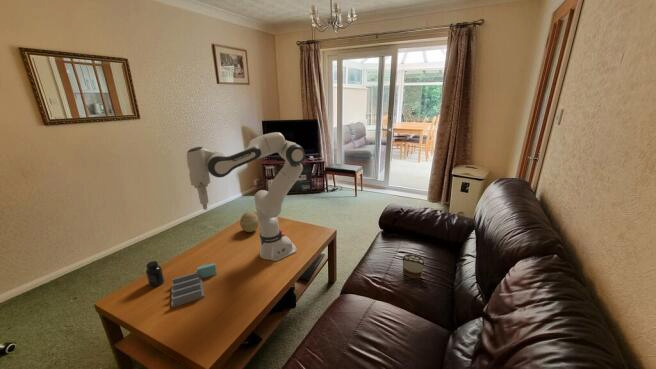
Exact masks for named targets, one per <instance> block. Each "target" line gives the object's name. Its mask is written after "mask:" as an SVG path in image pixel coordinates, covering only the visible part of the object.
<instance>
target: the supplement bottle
mask: <svg viewBox="0 0 656 369" xmlns="http://www.w3.org/2000/svg"><path fill="white" fill-rule="evenodd" d="M145 275H146V278H147V281H148V285H149V287H152V288H156V287H159V286H161V285H163V283H164V282H165V277H164V273H163V270H162V266H161V265H159V263H158V261H156V260H153V261H149V262H148V263H147V264H146V270H145Z"/></svg>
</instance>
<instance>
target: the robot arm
mask: <svg viewBox="0 0 656 369" xmlns="http://www.w3.org/2000/svg"><path fill="white" fill-rule="evenodd" d="M273 154H278V156H279V157H281V158H282V159H283V160H284V165H283V166H282V168H280V170H279V172H277V174H276V175H275V177H274V178H273V180H272V181H271V184H270V186H269V190H265V189H261V190H258V191H257V192H256V193H255V195H254V204H255V209H256V216H257V217H258V219H259V225H258V227H259V242H260V250H259V258H261V259H263V260H268V261H269V260H271V261H273V262H277V261H279V260H282V259H283V258H286V257H288V256H291V255H293V254H295V253H297V247H296V245H295V244H294V243H293V241H291V239H290V238H289V237H288V236H286V234H285V233H284V232H283V231H282V230H281V229H280V226H279V219H278V216H279V215H281V212H282V206H283V203H284V201H285V198H286V196H287V195H288V193H289V191H290V190H291V189H292V188H293V186H294V185H295V184H296V182H298V181H297V180H298V179H299V177H300V176H301V174H302V172H303V170H304V166H303V162H304V159H305V154H306V153H305V150H304V148H303V147H302V146H301V145H300V144H297V143H296V142H293V141H290V140H287V139H286V138H285V136H284V135H283V134H282V133H281V132H279V131H278V132H277V131H276V132H275V131H274V132H269V133H265V134H262V135H259V136H257V137H254V138H253V139H250V141H249V142H248V146H247V147H246V148H245V149H244V150H241V151H238V152H236V153H234V154H231V155H229V156H228V155H227V156H225V155H224V153H222V152H219V151H213V150H210V149H207V148H205V147H204V146H196V147H192V148H190V149H188V151H187V152H186V162H187V168H188V170H189V182H190V185H191V186H192V187H193V188H194V189H196V190H197V194H198V199H199V203H200V204H201V205H202V208H203V210H208V203H209V202H210V201H209V197H208V196H209V195H208V190H207V188H208V187H209V184H210V183H211V177H210V176H213V177H215V178H224V177H226V176H228V175H229V174H231V172H233V170H235V169H237V168H240V167H241V166H244V165H246V164H248V163H251V162H253V161H255V160H258V159H261V158H264V157H267V156H270V155H273Z"/></svg>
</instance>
